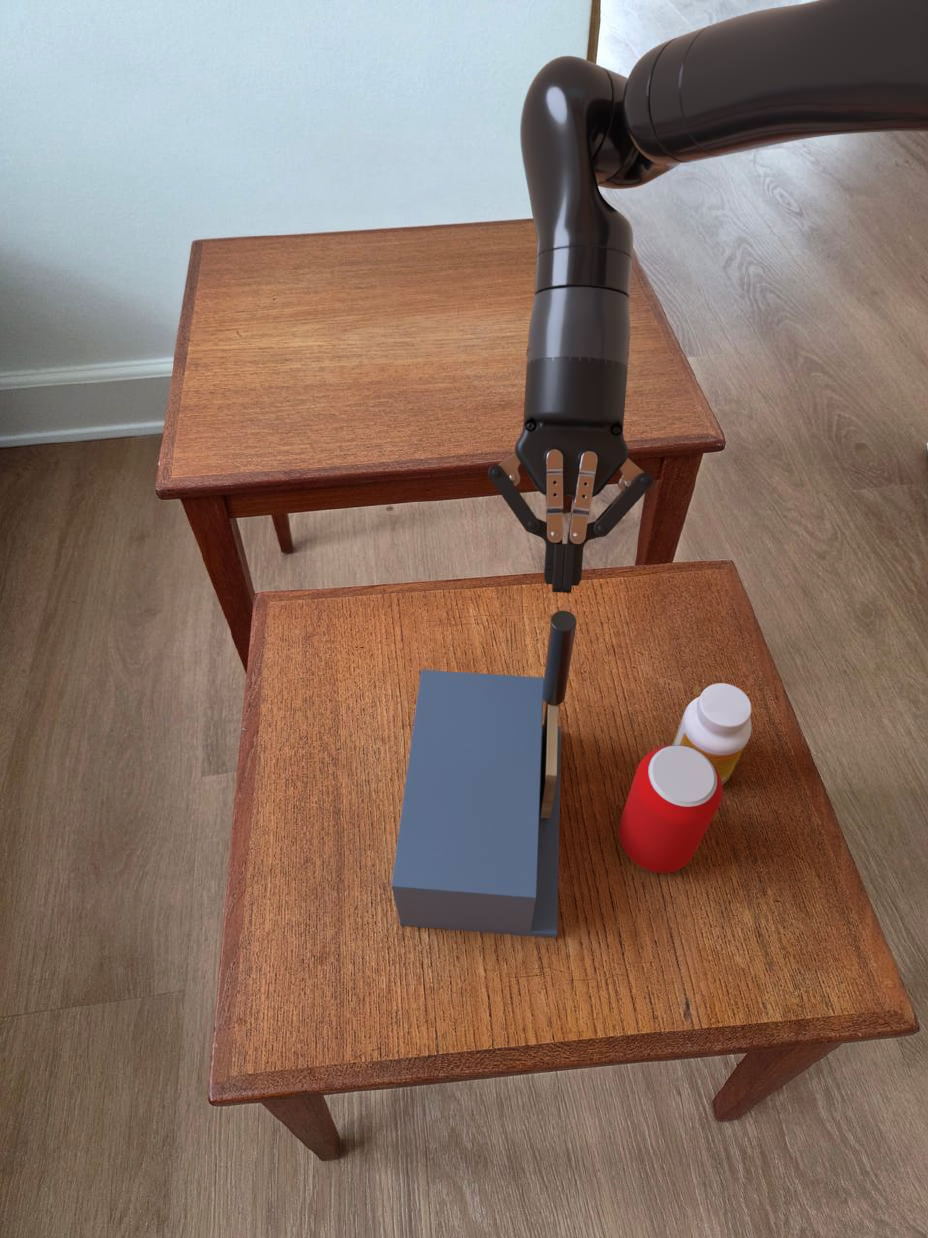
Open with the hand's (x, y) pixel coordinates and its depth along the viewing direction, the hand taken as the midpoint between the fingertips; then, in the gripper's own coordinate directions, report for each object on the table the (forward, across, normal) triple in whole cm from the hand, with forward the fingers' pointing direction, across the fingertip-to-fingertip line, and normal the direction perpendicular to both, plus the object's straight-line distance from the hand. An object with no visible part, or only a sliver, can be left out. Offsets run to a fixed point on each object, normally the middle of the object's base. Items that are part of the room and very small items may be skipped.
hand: (561, 591), depth 66 cm
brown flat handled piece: (+16, 0, +4) cm, 16 cm away
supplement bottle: (+15, +13, +7) cm, 21 cm away
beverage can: (+20, +9, +1) cm, 22 cm away
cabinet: (+20, -6, +2) cm, 21 cm away
